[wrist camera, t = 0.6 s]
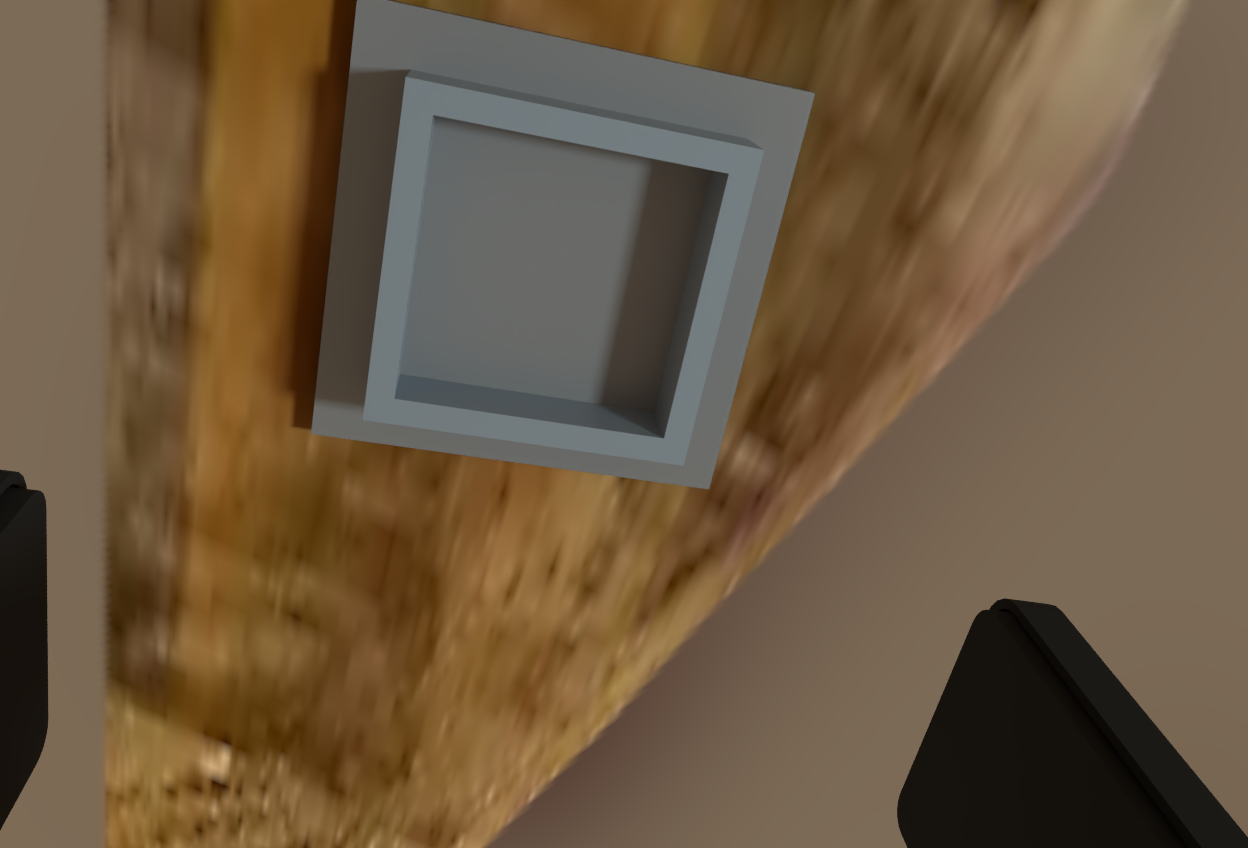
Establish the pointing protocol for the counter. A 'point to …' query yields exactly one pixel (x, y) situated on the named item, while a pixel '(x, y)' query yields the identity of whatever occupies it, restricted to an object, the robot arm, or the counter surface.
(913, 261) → the counter surface
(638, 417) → the blue-grey square tray
